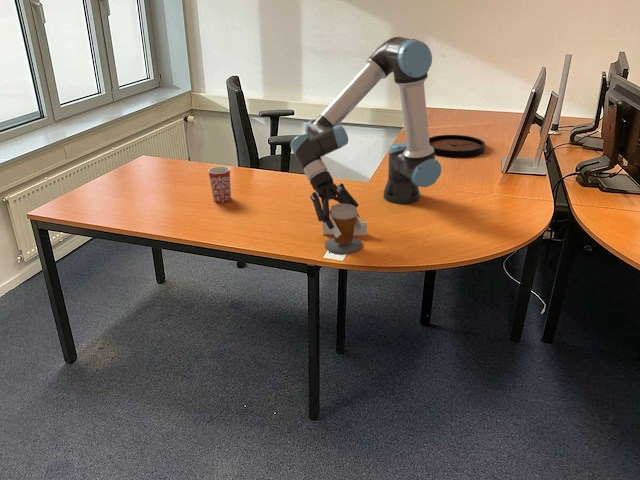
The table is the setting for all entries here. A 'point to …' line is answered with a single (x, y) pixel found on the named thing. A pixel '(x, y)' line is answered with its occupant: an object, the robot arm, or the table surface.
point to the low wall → (356, 231)
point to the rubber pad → (343, 246)
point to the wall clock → (457, 146)
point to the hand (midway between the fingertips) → (349, 231)
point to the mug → (220, 183)
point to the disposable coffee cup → (344, 221)
